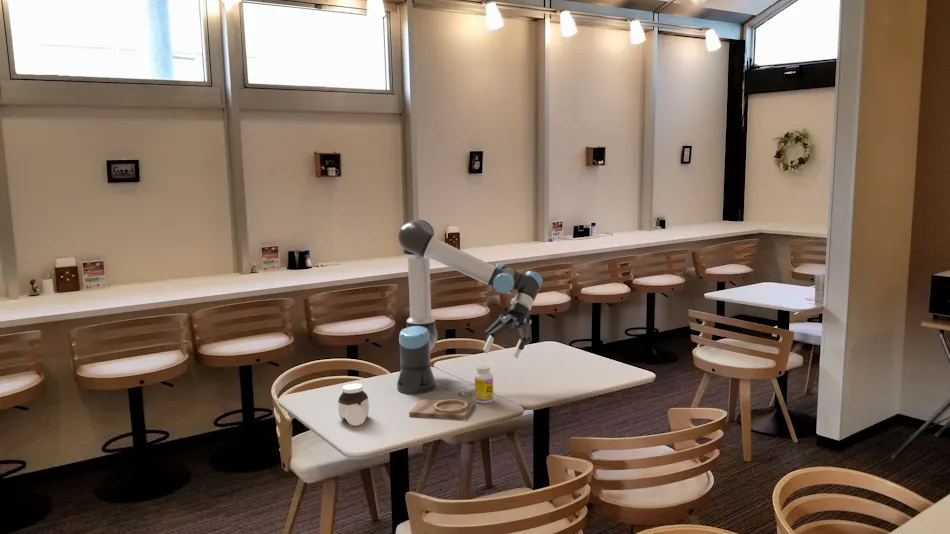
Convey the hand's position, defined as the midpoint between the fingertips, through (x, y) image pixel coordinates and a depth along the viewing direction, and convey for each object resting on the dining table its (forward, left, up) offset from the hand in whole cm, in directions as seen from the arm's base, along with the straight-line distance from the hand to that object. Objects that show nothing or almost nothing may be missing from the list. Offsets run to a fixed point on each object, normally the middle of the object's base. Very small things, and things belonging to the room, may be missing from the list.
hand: (500, 354), depth 273 cm
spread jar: (-43, -37, -15) cm, 59 cm away
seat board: (-16, -23, -15) cm, 32 cm away
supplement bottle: (-4, -10, -15) cm, 19 cm away
